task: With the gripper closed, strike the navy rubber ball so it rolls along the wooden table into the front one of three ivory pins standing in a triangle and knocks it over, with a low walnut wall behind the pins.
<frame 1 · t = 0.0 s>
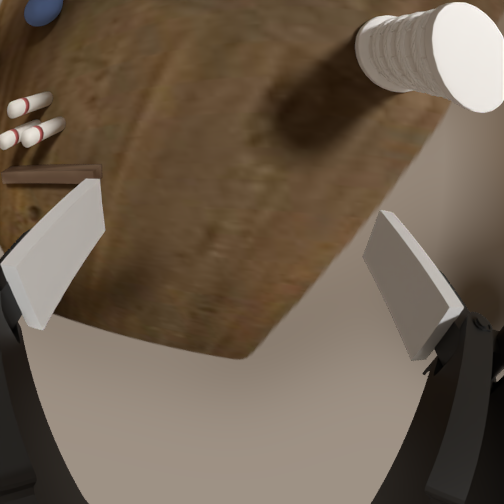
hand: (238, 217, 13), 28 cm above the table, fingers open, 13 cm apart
back wall: (51, 170, 38), on the table
ball: (43, 7, 21), on the table
pin 1: (36, 126, 34), on the table
pin 2: (59, 123, 34), on the table
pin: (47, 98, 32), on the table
decorative container: (392, 53, 30), on the table
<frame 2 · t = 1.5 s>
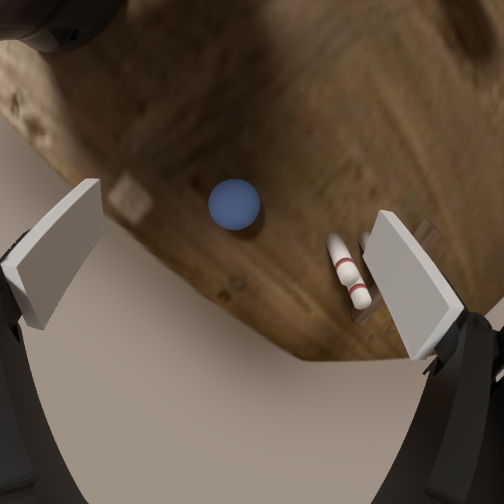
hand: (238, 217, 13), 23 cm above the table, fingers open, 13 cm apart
back wall: (390, 269, 44), on the table
ball: (234, 204, 34), on the table
pin 1: (346, 263, 43), on the table
pin 2: (365, 238, 40), on the table
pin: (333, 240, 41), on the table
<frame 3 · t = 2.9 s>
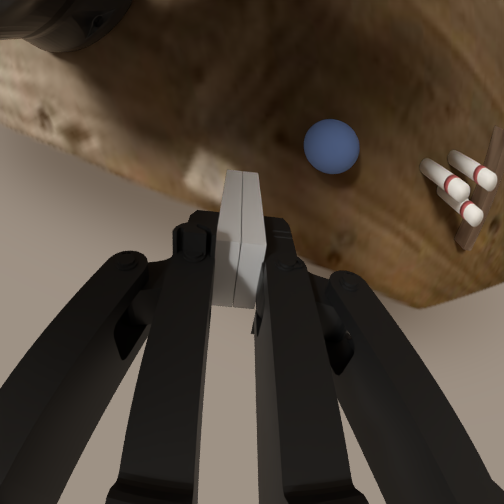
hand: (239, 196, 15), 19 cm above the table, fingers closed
back wall: (480, 185, 34), on the table
ball: (331, 146, 29), on the table
pin 1: (443, 189, 35), on the table
pin 2: (453, 157, 32), on the table
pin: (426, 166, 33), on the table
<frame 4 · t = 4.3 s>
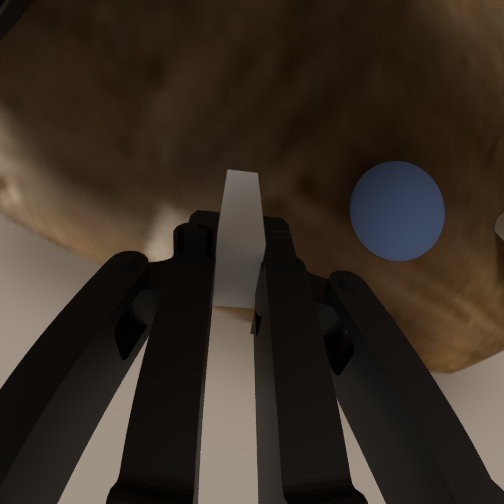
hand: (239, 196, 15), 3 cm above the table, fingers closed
ball: (397, 211, 16), on the table
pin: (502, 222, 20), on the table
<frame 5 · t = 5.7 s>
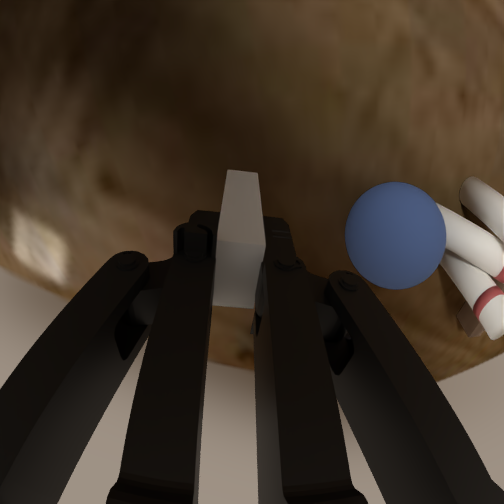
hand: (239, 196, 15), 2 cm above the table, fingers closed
ball: (396, 235, 15), on the table
pin 1: (446, 248, 19), on the table
pin 2: (470, 191, 17), on the table
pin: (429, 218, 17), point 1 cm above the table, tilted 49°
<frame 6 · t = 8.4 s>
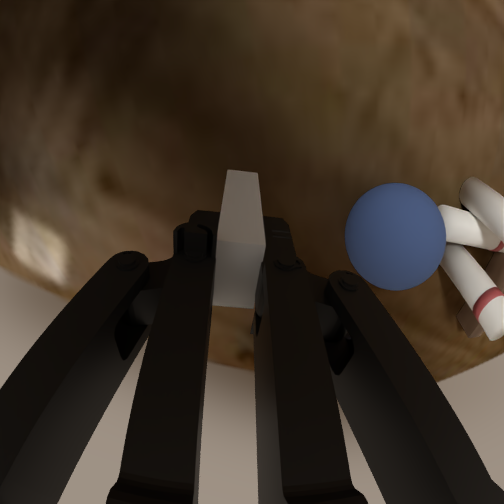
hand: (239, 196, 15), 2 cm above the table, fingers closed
ball: (396, 236, 15), on the table
pin 1: (446, 248, 19), on the table
pin 2: (470, 191, 17), on the table
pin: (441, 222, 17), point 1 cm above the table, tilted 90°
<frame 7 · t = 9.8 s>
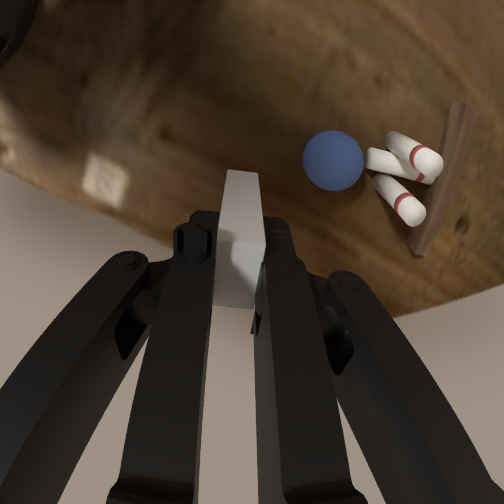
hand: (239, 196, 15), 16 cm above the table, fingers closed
back wall: (436, 175, 31), on the table
ball: (333, 160, 27), on the table
pin 1: (381, 181, 31), on the table
pin 2: (393, 140, 28), on the table
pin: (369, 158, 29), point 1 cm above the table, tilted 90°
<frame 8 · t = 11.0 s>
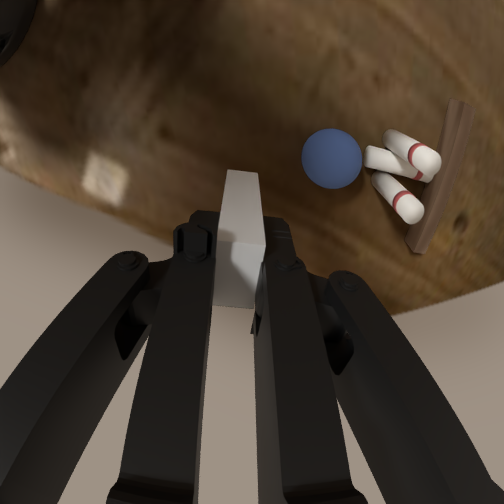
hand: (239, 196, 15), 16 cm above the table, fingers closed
back wall: (435, 173, 31), on the table
ball: (331, 158, 27), on the table
pin 1: (380, 179, 31), on the table
pin 2: (391, 139, 29), on the table
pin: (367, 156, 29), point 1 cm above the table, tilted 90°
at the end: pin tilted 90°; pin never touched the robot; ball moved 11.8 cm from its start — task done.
